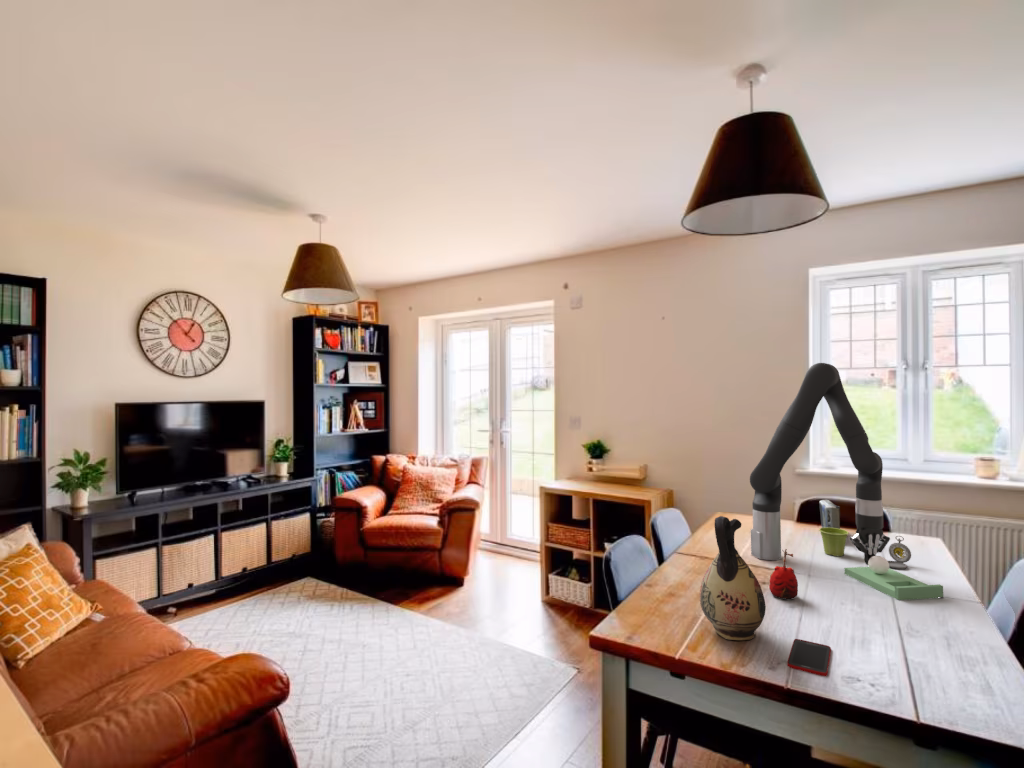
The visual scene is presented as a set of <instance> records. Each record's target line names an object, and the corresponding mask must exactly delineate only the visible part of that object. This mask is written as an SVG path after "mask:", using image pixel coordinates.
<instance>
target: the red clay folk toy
mask: <svg viewBox="0 0 1024 768" xmlns="http://www.w3.org/2000/svg"><path fill="white" fill-rule="evenodd" d="M781 552H783V553H784V554H783V555H784V557H783V558H784V559H782V561H783V565H782V566H777V565H776V566H775V567H774V570H773V571H772V573H771V575H770V577H769V584H768V587H769V590H770V593H771V594H772V595H773V596H774V597H776V599H777V598H778V599H781V600H787V601H788V600H793V599H796V597H797V596H798V594H799V593H798V592H799V589H798V588H799V587H798V586H799V585H798V584H799V583H798V582H799V581H798V578H797V575H796V574H795V571H794V568H792V567H787V565H786V562H787V560H786V559H787V556H790V557H792V558H794V554H793V553H791V554H790V553H788V552H787V548H785V550H783V549H781Z"/></svg>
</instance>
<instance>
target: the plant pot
mask: <svg viewBox="0 0 1024 768" xmlns="http://www.w3.org/2000/svg"><path fill="white" fill-rule="evenodd" d="M818 531H819V532H820V535H821V539H822V544H823V551H824V554H826V555H829V556H830V555H831V556H833V557H842V556H844V555H845V554H844V553H845V549H846V544H847V543H846V541H847V538H848V535H849V534H850V533H849V531H847V530H846V529H843V528H840V529H838V528H822V527H820V528H819V530H818Z"/></svg>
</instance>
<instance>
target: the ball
mask: <svg viewBox="0 0 1024 768" xmlns="http://www.w3.org/2000/svg"><path fill="white" fill-rule="evenodd" d="M888 561H889V560H887V559H886V558H885V557H883V556H881V555H876V556H873V557H871V558H870V559H869V561H868V565H867V567H869V568H870V569H871V570H872V571H873V572H875V573H877V574H884V573H886V572H887V571H888V570H889V568H890V567H889V563H888Z"/></svg>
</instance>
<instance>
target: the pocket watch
mask: <svg viewBox="0 0 1024 768" xmlns="http://www.w3.org/2000/svg"><path fill="white" fill-rule="evenodd" d="M897 537H899V538H898V539H897ZM901 538H902V539H901ZM895 539H896V540H897V542H893V543H892V544H890V545H889V547H888V553H889V556H890V557H891V558H892V559H893V560H887V561H888V563H889V568H890V569H898V570H903V569H907V567H908V565H907V564H906V563H908V562H909V561H910V560H911V558H912V552H911V550H910V548H909V547H908V546H907V545H906V544H904V543H901V542H903V541H904V540H905V539H904V536H901V535H896V536H895Z"/></svg>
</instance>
